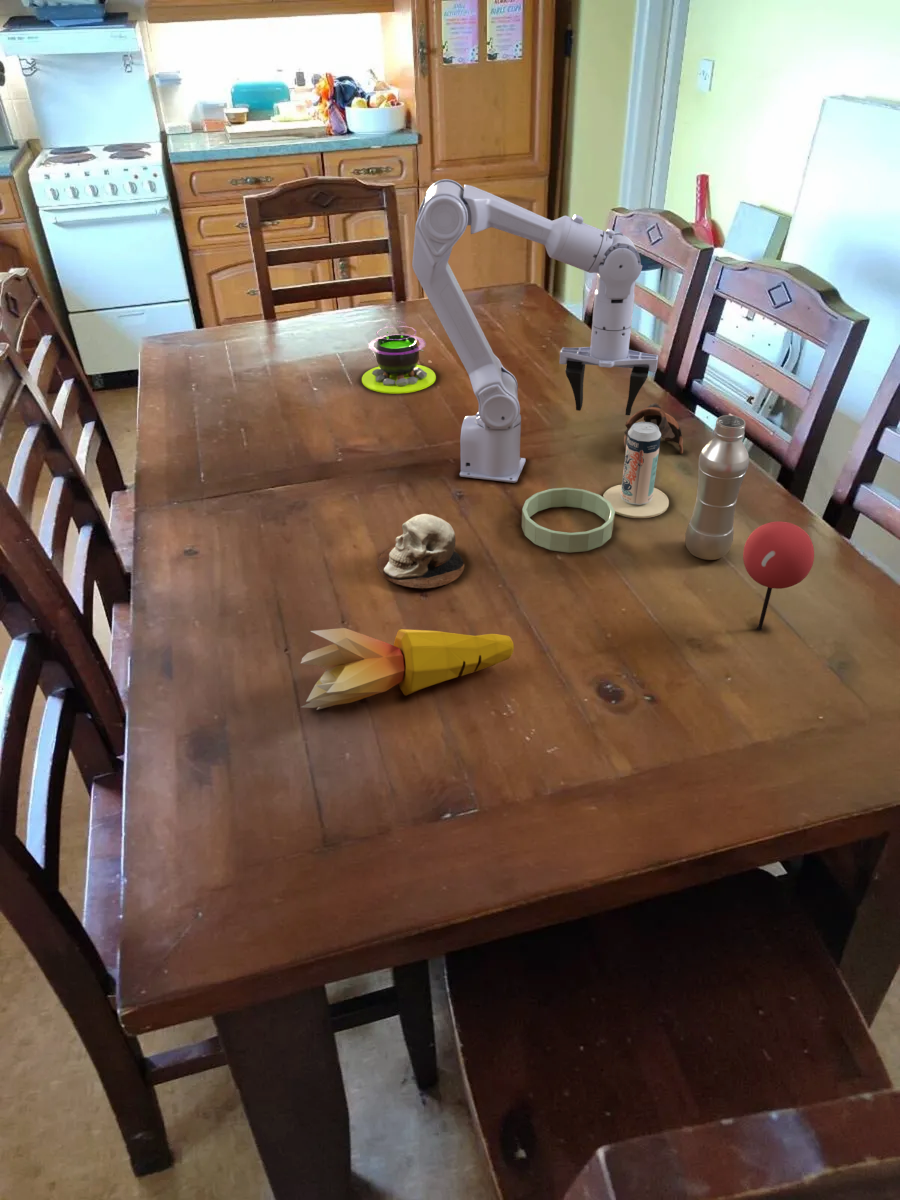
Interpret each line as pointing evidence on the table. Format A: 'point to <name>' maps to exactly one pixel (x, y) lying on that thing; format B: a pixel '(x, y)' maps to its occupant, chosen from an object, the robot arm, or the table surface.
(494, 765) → the table surface
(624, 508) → the coaster
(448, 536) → the skull
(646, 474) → the beer can
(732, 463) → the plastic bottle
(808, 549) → the lollipop
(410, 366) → the toy cauldron
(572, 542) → the ring
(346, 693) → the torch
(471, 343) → the robot arm
